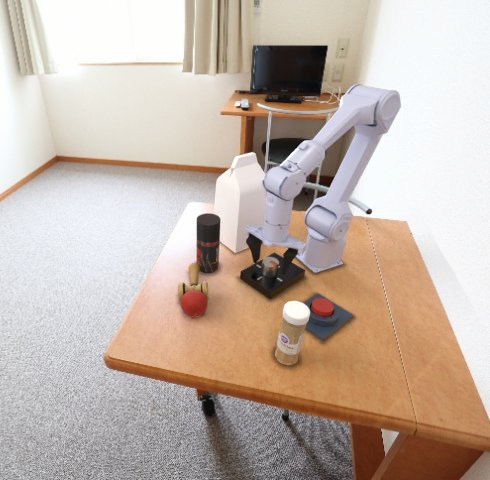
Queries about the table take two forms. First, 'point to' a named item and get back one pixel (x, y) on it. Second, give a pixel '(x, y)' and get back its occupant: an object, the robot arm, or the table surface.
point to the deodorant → (208, 242)
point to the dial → (269, 267)
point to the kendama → (193, 293)
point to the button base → (325, 320)
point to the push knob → (322, 307)
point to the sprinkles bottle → (291, 332)
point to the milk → (240, 200)
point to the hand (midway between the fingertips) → (270, 266)
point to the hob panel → (272, 285)
